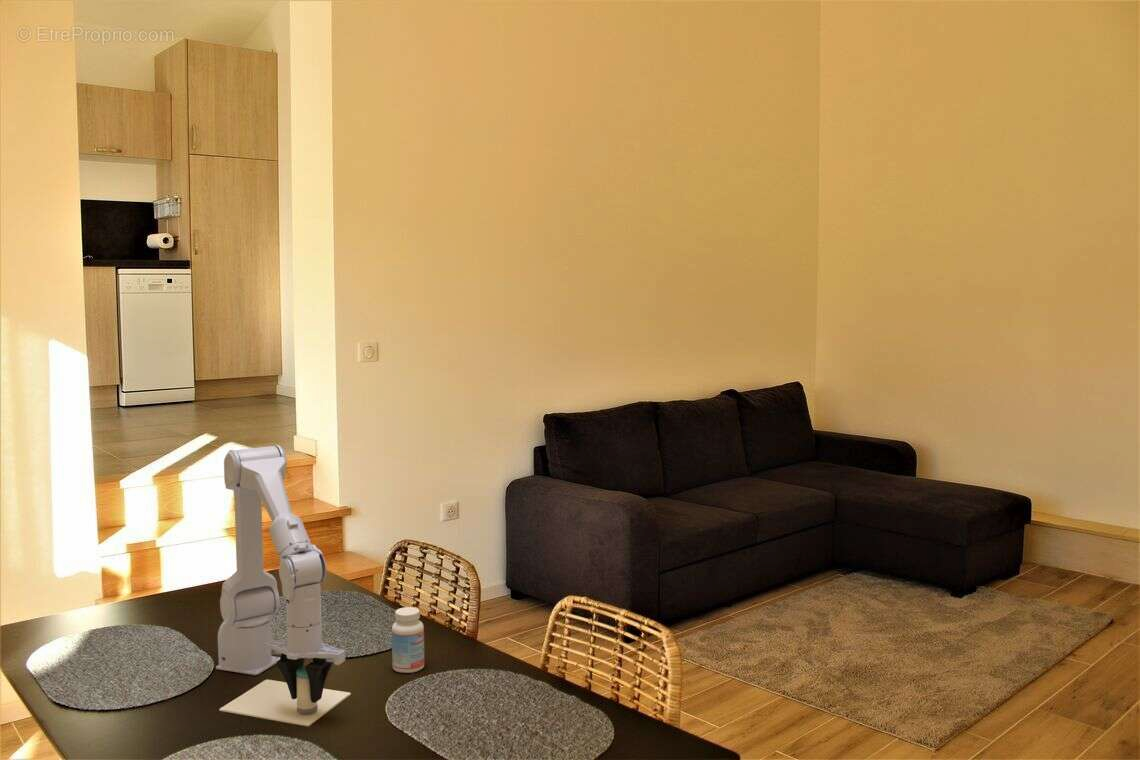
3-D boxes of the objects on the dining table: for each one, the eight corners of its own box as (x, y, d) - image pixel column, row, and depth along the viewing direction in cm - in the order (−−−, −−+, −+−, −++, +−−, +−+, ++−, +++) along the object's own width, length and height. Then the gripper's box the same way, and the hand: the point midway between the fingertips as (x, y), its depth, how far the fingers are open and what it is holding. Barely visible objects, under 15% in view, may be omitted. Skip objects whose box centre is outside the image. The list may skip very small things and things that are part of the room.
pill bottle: (418, 675, 178) (416, 617, 177) (387, 672, 180) (386, 615, 178) (429, 662, 184) (428, 606, 183) (399, 660, 185) (398, 604, 184)
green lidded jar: (292, 712, 162) (291, 671, 161) (305, 704, 165) (304, 663, 164) (309, 715, 160) (309, 674, 160) (321, 707, 164) (321, 666, 163)
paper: (219, 710, 164) (219, 709, 164) (266, 680, 176) (266, 679, 176) (308, 726, 158) (308, 724, 158) (350, 694, 170) (350, 692, 170)
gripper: (253, 624, 160) (256, 702, 161) (327, 635, 155) (329, 714, 156) (279, 611, 166) (281, 685, 168) (351, 620, 161) (353, 697, 163)
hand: (306, 698), depth 162 cm, fingers closed on green lidded jar, 3 cm apart
